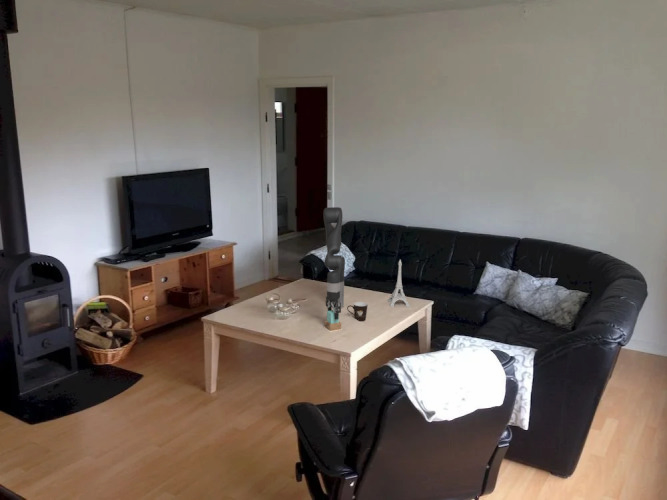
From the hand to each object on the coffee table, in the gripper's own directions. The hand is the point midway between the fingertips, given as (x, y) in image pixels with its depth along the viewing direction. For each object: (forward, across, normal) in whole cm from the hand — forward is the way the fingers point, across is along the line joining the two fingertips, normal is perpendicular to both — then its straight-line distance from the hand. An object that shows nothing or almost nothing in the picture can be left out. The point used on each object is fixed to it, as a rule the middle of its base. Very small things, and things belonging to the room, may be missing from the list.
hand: (333, 317), depth 343 cm
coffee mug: (+8, -11, +23) cm, 27 cm away
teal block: (+3, 0, 0) cm, 3 cm away
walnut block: (+7, 0, 0) cm, 7 cm away
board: (+8, -3, 0) cm, 9 cm away
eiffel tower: (+9, -27, +63) cm, 69 cm away
